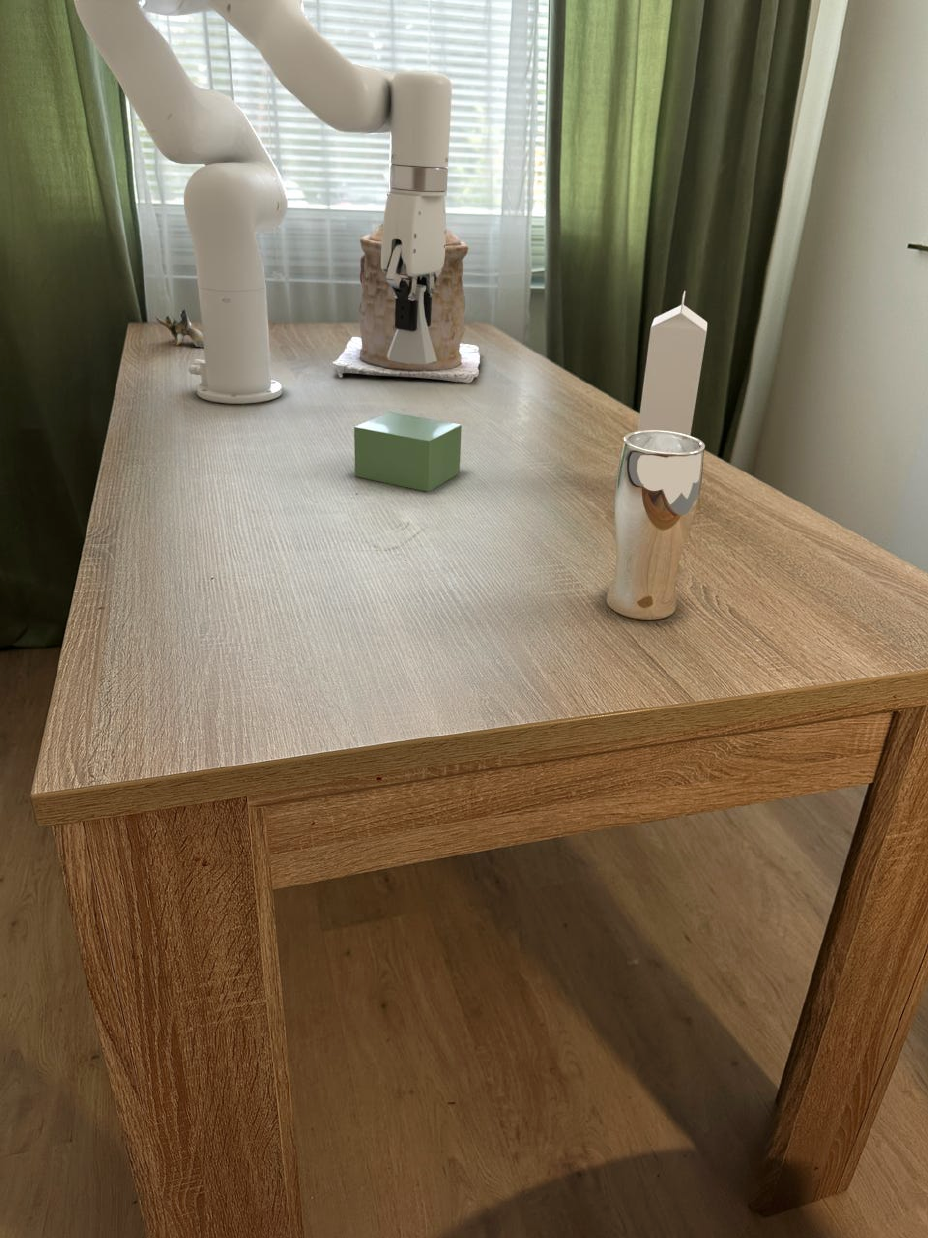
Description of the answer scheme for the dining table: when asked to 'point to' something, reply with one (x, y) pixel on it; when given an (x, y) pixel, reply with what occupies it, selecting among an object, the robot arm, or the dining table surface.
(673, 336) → the milk
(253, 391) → the robot arm
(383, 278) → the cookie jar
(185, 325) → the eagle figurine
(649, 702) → the dining table surface
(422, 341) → the flask
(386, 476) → the green block
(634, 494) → the beer glass
